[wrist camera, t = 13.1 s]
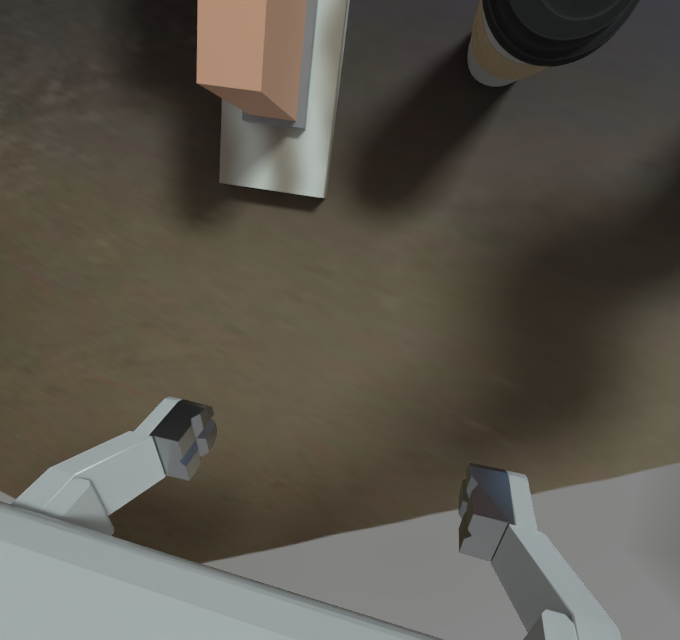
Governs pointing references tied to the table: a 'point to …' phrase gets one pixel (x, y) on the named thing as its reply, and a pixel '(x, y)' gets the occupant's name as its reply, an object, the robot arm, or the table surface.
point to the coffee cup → (538, 35)
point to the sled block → (258, 56)
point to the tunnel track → (290, 143)
